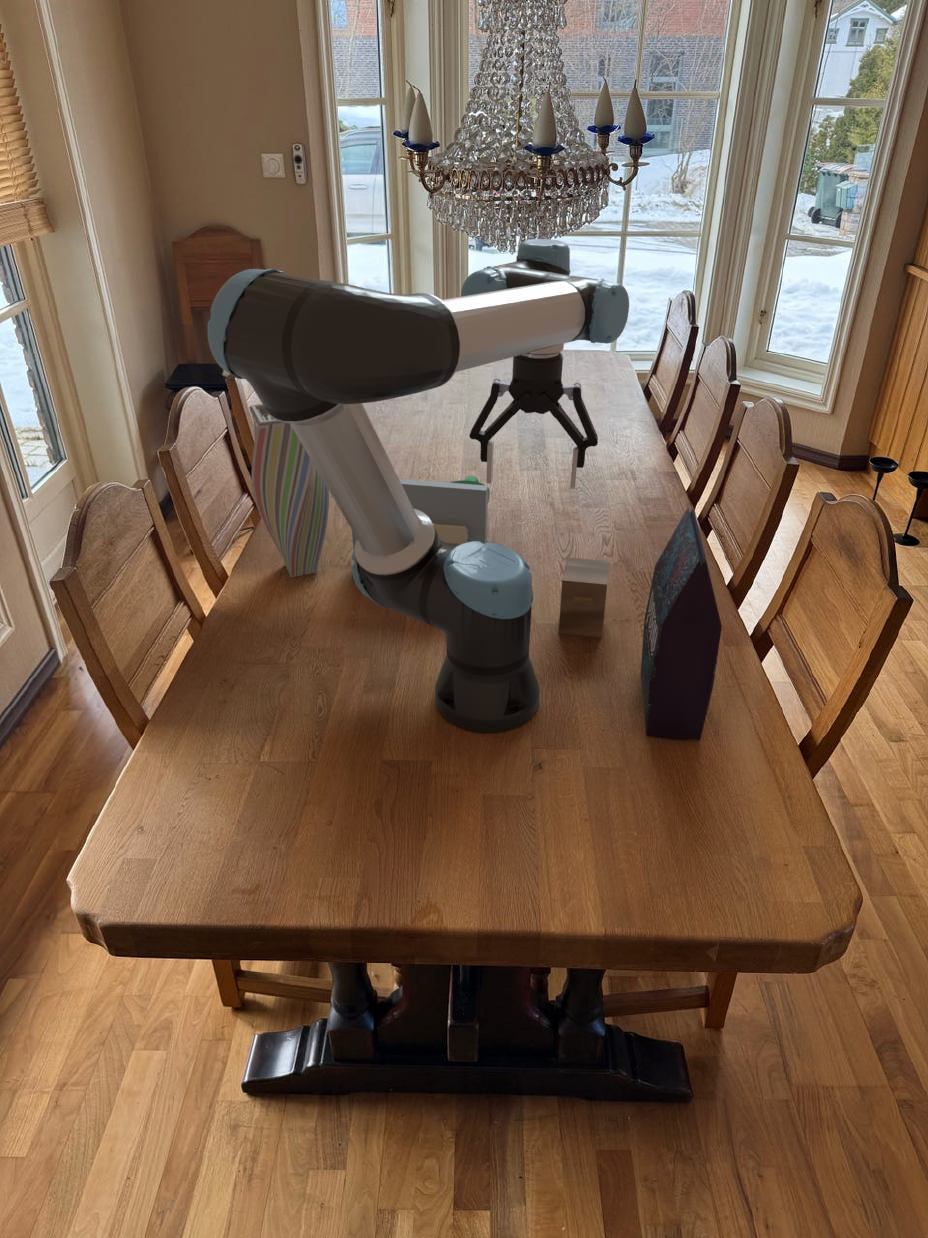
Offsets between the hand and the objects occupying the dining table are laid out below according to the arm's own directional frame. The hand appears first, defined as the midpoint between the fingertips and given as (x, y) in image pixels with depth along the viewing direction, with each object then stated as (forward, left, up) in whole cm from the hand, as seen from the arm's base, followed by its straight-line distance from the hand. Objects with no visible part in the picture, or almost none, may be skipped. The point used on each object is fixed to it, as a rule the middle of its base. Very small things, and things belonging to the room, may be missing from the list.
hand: (530, 482), depth 143 cm
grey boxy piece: (+3, +20, -20) cm, 28 cm away
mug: (+20, +15, -21) cm, 32 cm away
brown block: (-9, -10, -20) cm, 25 cm away
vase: (0, +42, -21) cm, 46 cm away
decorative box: (-28, -24, -21) cm, 43 cm away
